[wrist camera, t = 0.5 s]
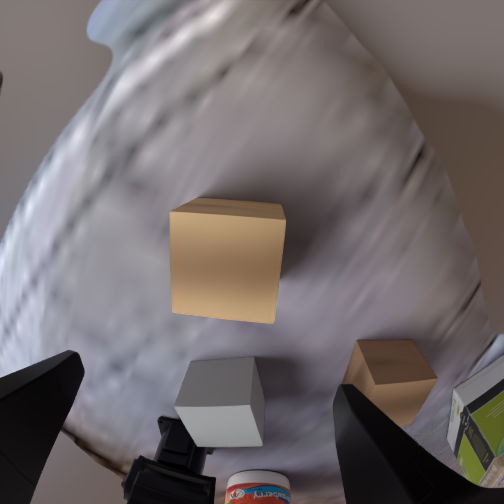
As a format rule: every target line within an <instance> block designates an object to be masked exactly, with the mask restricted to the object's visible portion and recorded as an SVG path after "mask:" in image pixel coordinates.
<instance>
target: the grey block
mask: <svg viewBox="0 0 504 504" xmlns="http://www.w3.org/2000/svg"><path fill="white" fill-rule="evenodd" d="M174 407H175V409H176V411H177V413H178V415H179V416H180V418H181V420H182V422H183V423H184V425H185V427H186V429H187V430H188V432H189V434H190V435H191V437H192V438H193V440H194V442H195V443H196V445H197V447H252V446H263V439H264V413H265V398H264V394H263V390H262V386H261V382H260V378H259V374H258V370H257V366H256V362H255V358H254V356H251V357H242V358H231V359H219V360H205V361H191V362H190V364H189V367H188V370H187V372H186V375H185V378H184V380H183V383H182V386H181V389H180V391H179V394H178V397H177V399H176V402H175V405H174Z"/></svg>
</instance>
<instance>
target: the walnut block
mask: <svg viewBox="0 0 504 504" xmlns="http://www.w3.org/2000/svg"><path fill="white" fill-rule="evenodd" d="M437 379H438V378H437V376H436V375H435V373H434V372H433V370H432V368H431V367H430V365H429V364H428V362H427V361H426V359H425V358H424V356H423V355H422V353H421V352H420V350H419V349H418V347H417V346H416V345H415V343H414V342H413V340H412V339H409V340H356V343H355V346H354V349H353V353H352V356H351V359H350V362H349V365H348V367H347V370H346V373H345V376H344V379H343V382H342V384H348V383H351V384H353V385H354V386H355V387H356V388H358V389H359V390H360V391H361V392H362V393H363V394H364V395H365V396H366V397H367V398H368V399H369V400H371V401H372V402H373V403H374V404H375V405H376V406H377V407H378V408H379V409H380V410H381V411H383V412H384V413H385V414H386V415H387V416H388V417H389V418H390V419H391V420H393V421H394V422H395V423H396V424H397V425H398V426H399V427H400V426H406V425H410V424H411V422H412V421H413V419H414V418H415V416H416V415H417V413H418V411H419V410H420V408H421V407H422V405H423V403H424V402H425V400H426V398H427V397H428V395H429V393H430V392H431V390H432V388H433V386H434V384H435V383H436V381H437Z"/></svg>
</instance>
